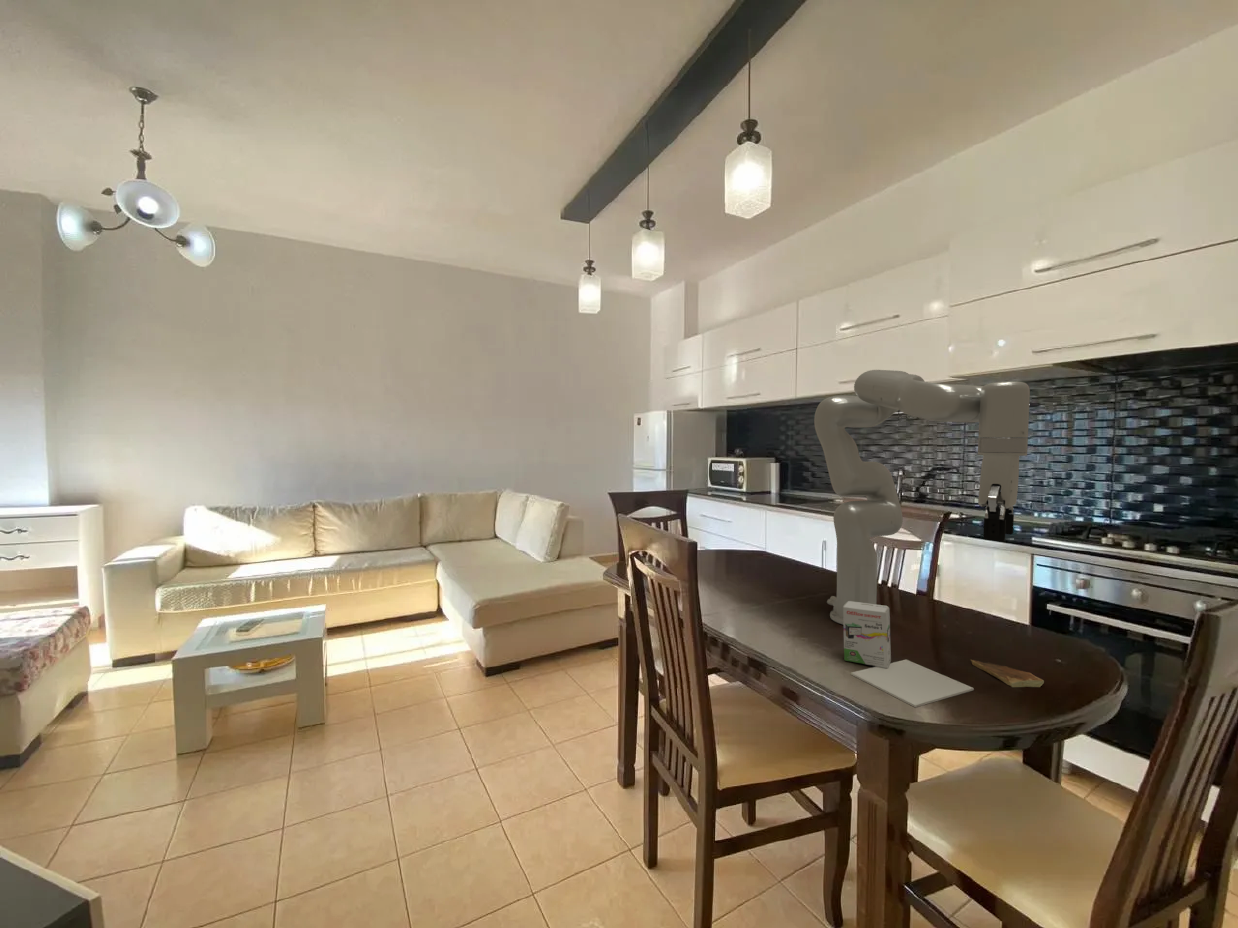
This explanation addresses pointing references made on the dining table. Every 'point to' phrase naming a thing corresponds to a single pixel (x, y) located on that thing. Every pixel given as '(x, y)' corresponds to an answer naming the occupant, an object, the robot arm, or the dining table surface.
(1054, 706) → the dining table surface
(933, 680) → the grey mat
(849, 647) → the ink box
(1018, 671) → the shard
